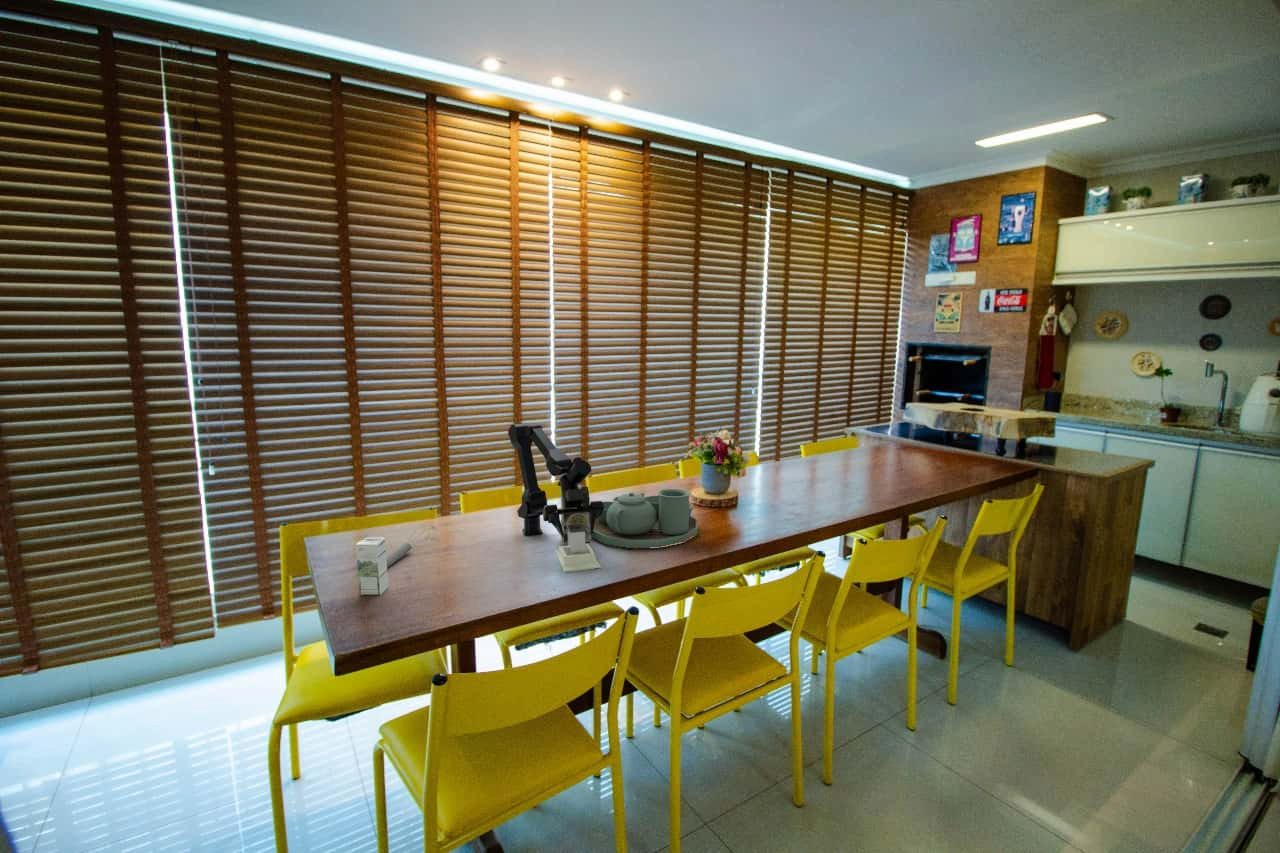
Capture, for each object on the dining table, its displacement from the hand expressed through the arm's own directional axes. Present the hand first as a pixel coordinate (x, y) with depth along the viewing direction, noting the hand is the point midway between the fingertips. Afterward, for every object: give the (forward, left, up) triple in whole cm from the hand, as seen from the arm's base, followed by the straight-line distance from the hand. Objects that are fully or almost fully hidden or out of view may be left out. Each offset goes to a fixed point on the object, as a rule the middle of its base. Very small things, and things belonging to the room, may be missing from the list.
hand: (577, 535), depth 173 cm
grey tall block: (-2, 0, -8) cm, 8 cm away
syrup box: (+4, -57, -9) cm, 58 cm away
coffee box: (-19, +3, -9) cm, 21 cm away
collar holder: (-2, 0, -9) cm, 9 cm away
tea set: (-23, +28, -9) cm, 37 cm away
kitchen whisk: (-25, -50, -9) cm, 57 cm away
